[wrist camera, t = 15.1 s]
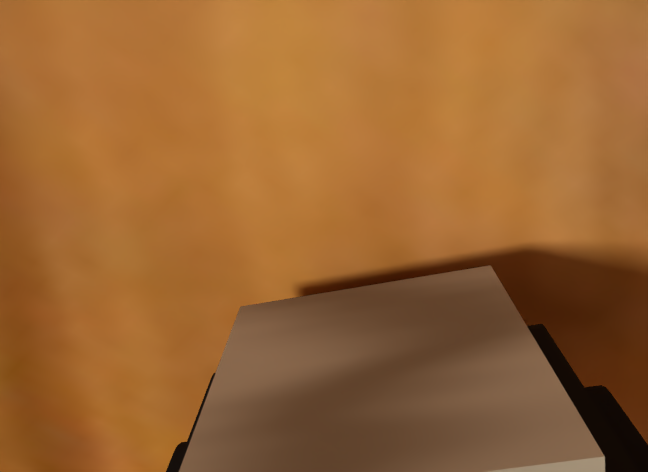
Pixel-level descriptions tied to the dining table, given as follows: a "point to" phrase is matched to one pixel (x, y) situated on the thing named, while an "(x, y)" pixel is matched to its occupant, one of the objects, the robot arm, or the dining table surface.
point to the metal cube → (390, 386)
